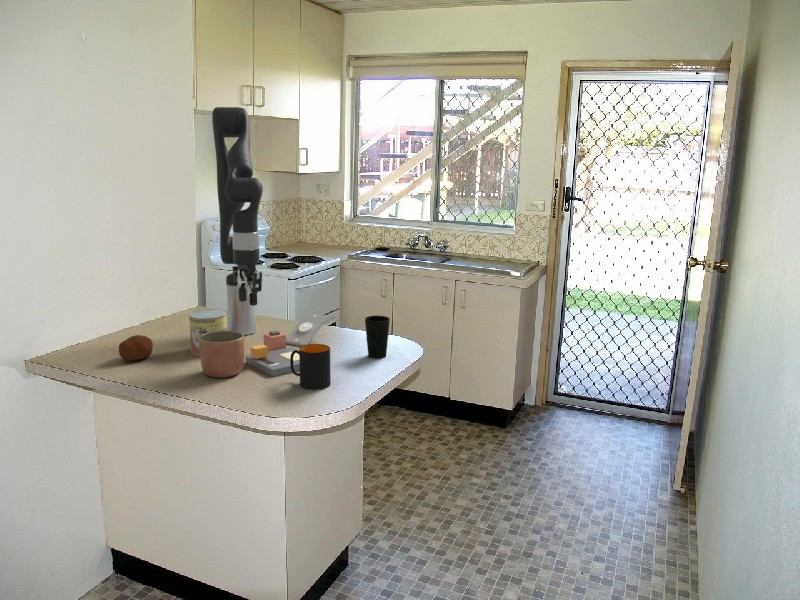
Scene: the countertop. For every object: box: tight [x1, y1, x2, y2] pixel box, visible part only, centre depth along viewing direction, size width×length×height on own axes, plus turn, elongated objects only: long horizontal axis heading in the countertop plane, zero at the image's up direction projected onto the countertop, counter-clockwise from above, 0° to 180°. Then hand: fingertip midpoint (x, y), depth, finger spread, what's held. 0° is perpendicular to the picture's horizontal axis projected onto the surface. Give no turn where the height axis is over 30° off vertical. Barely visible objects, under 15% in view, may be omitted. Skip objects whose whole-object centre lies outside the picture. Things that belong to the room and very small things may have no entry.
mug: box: [290, 343, 332, 391], centre depth 183 cm, size 8×12×10 cm
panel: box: [244, 346, 300, 377], centre depth 200 cm, size 16×16×2 cm
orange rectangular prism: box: [250, 344, 268, 359], centre depth 199 cm, size 3×4×3 cm
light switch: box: [286, 312, 328, 347], centre depth 224 cm, size 8×6×14 cm
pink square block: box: [263, 330, 287, 352], centre depth 210 cm, size 5×5×7 cm
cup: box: [364, 315, 391, 360], centre depth 208 cm, size 8×8×12 cm
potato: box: [118, 334, 154, 362], centre depth 202 cm, size 8×11×8 cm
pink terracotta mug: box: [198, 330, 245, 379], centre depth 190 cm, size 12×12×11 cm
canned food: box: [188, 309, 228, 357], centre depth 211 cm, size 11×11×12 cm
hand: (248, 302), depth 200 cm, fingers open, 6 cm apart
